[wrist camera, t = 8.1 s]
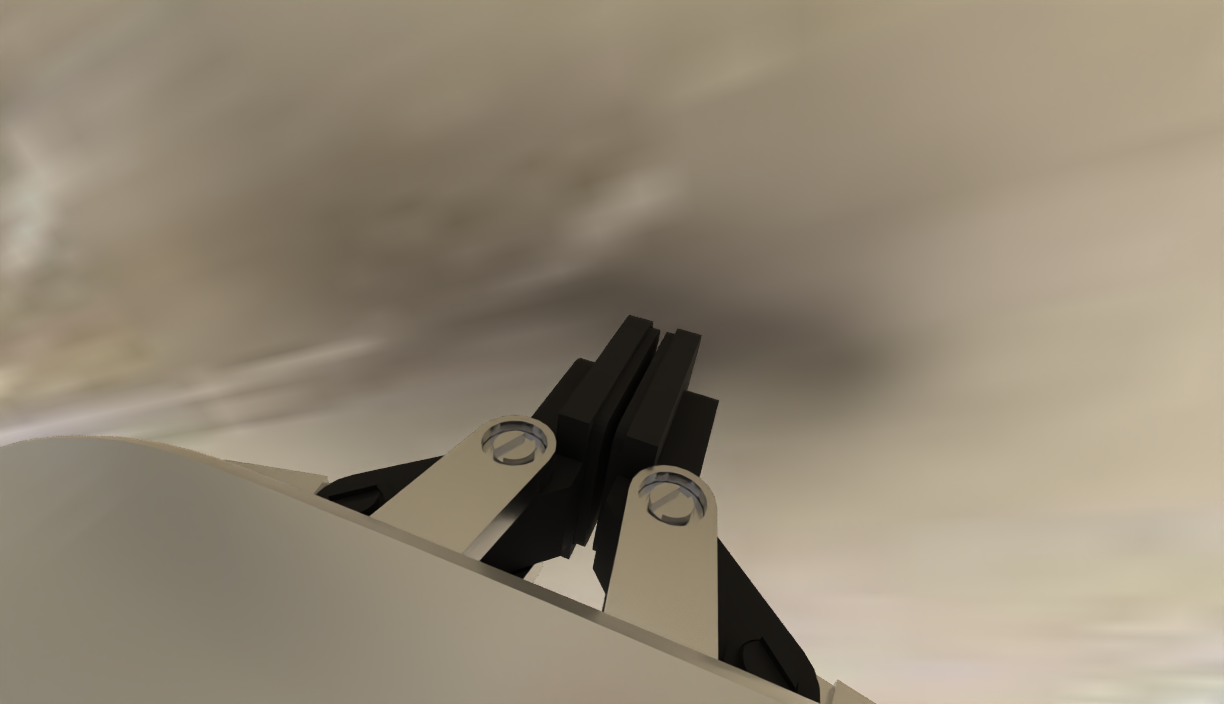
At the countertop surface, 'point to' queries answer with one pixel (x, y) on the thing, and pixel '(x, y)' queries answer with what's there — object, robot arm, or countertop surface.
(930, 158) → the countertop surface
